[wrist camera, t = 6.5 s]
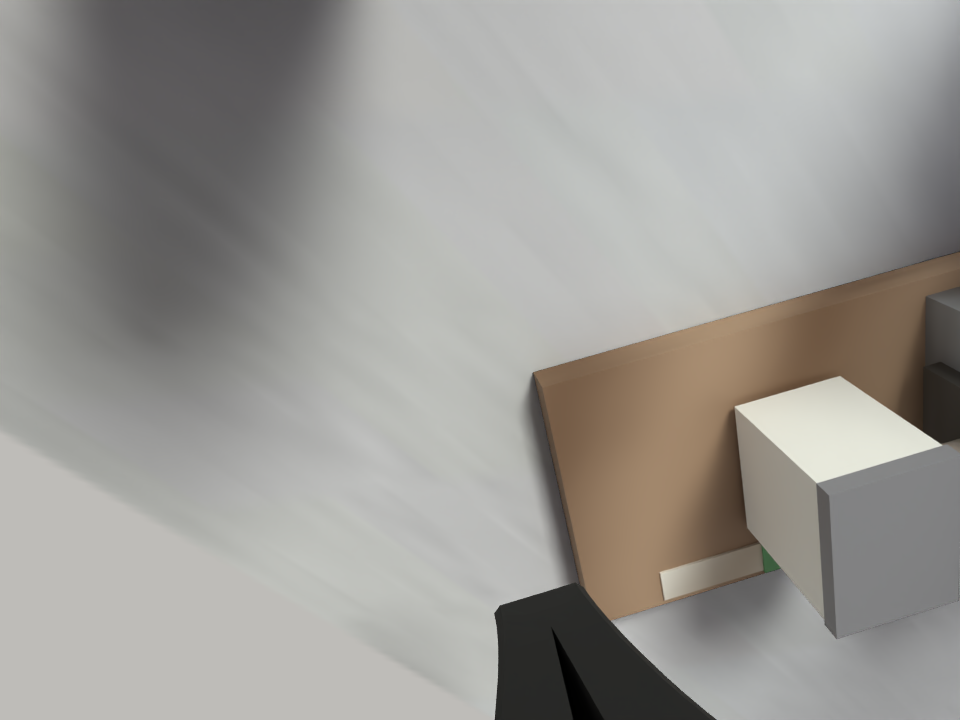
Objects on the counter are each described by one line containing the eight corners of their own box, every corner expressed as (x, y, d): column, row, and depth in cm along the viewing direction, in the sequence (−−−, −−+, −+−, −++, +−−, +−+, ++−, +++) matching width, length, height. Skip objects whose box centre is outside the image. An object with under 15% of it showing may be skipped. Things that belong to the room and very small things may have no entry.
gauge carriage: (841, 373, 21) (963, 455, 17) (848, 544, 24) (957, 652, 19) (732, 405, 21) (829, 495, 17) (750, 574, 23) (839, 689, 19)
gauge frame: (1017, 235, 22) (1245, 302, 17) (1004, 475, 25) (1191, 597, 20) (533, 372, 21) (603, 491, 16) (584, 603, 24) (657, 769, 19)
